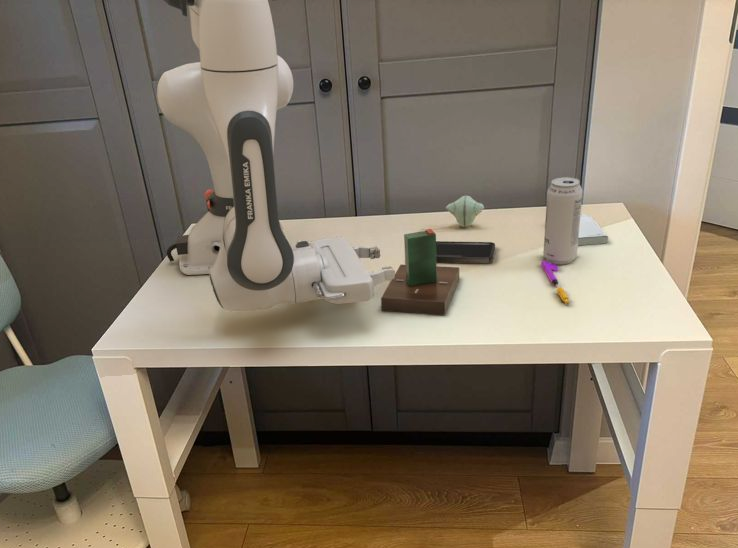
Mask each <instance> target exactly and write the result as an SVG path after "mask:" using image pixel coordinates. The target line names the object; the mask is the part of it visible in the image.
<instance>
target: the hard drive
mask: <svg viewBox="0 0 738 548" xmlns="http://www.w3.org/2000/svg"><path fill="white" fill-rule="evenodd" d="M608 242H609V236H608V235H607V232H605V231H604V230H603V228H602V227H601V226H600V225H599V224H598V223H597V221H596V220H595V219H594V218H593V217H592V216H591V215H590V214H589V213H583V214H582V213H581V215H580V226H579V238H578V246H584V245H585V246H586V245H599V244H606V243H608Z"/></svg>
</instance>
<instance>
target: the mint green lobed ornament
mask: <svg viewBox="0 0 738 548" xmlns="http://www.w3.org/2000/svg"><path fill="white" fill-rule="evenodd" d="M445 209H446V210H447V211H448V212H449V213H450V214H451V215H452V216H453V217H454V218H455V220H456V222H457V223H458V224H459V226H460V227H462V228H468V227H470V226H471V225H472V224H473V223H474V222H475V220H476V217H477V216H479V215H480V214H481V213H482V212H483V210H484V209H485V206H484V204H483V203H481V202H477V201H476V200H475V199H473V198H472V196H469V195H463V196H462V195H461V196H460V198H458V199H457V200H455V201H453V202H451V203H448V205H446V206H445Z"/></svg>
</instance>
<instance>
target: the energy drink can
mask: <svg viewBox="0 0 738 548" xmlns="http://www.w3.org/2000/svg"><path fill="white" fill-rule="evenodd" d="M583 193H584V191H583V188H582V186H581V181H580V179H579V178H575V177H571V176H570V177H568V176H566V177H557V178H554V179H552V180H551V184H550V186H549V187H548V188H547V191H546V205H545V222H544V238H543V252H542V254H543V257H545V261H549V262H550V264H556V265H569V264H571V263H573V262H574V260H575V259H576V258H577V256H578V249H579V245H578V238H579V226H580V215H581V214H582V203H583Z"/></svg>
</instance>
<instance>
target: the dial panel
mask: <svg viewBox="0 0 738 548" xmlns="http://www.w3.org/2000/svg"><path fill="white" fill-rule="evenodd" d="M436 267H437V282H433V283H427V284H421V285H415V286H409V285H408V283H407V282H406V268H405V264H400V265H399V266H398V268H397V270H396V272H395V278H394V279H392V280H390V282H389V283H388V286H387V287H386V288H385V291H383V294H382V296H381V297H380V303H381V311H382V312H395V313H396V312H397V313H409V314H410V313H411V314H425V315H438V316H445V315H446V314H447V311H448V309H449V306H450V304H451V301H452V299H453V296H454V293H455V291H456V289H457V286H458V284H459V281H460V267H459V266H440V265H439V266H438V265H436Z"/></svg>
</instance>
